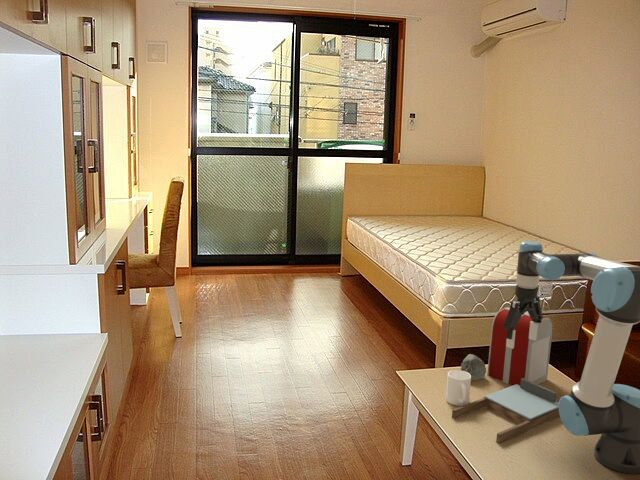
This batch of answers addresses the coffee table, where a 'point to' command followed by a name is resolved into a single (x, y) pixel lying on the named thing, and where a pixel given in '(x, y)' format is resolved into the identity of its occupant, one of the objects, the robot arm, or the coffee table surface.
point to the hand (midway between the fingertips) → (521, 343)
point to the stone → (474, 367)
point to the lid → (526, 399)
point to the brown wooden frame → (522, 422)
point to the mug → (458, 387)
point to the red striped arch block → (519, 351)
